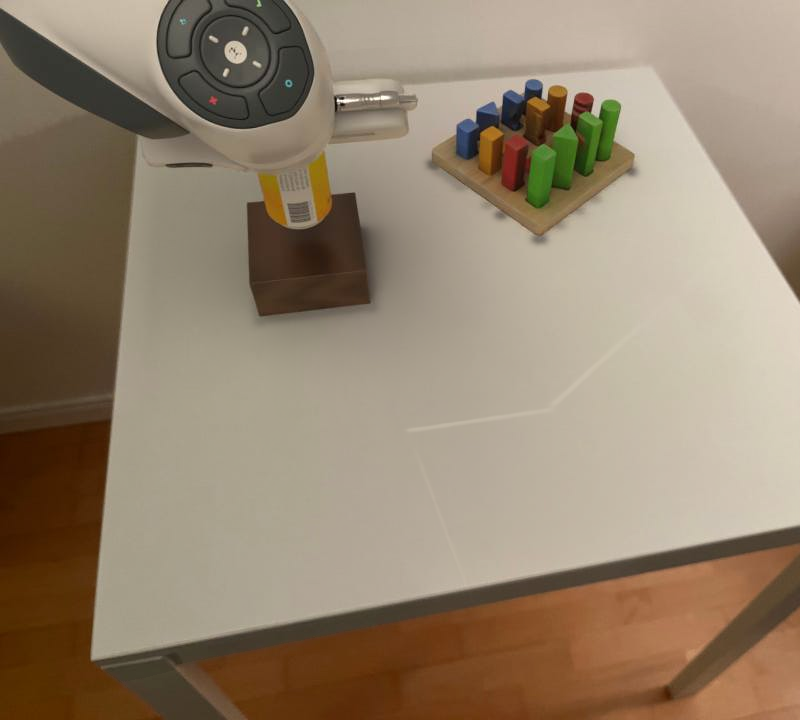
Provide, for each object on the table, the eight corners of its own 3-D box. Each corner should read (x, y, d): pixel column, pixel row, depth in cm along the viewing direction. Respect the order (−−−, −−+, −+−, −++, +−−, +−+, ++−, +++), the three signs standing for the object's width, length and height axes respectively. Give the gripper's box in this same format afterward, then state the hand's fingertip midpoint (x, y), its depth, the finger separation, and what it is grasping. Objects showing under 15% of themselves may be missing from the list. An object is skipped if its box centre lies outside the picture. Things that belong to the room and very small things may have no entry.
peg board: (527, 99, 95) (535, 38, 88) (634, 166, 89) (651, 106, 82) (429, 160, 88) (429, 98, 81) (538, 238, 81) (548, 177, 74)
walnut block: (259, 316, 73) (249, 283, 69) (256, 237, 79) (246, 202, 75) (370, 303, 75) (367, 270, 71) (359, 226, 81) (355, 192, 77)
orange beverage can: (323, 183, 72) (301, 41, 60) (340, 225, 69) (320, 84, 57) (261, 196, 71) (225, 53, 59) (275, 239, 68) (240, 99, 55)
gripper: (415, 47, 51) (400, 86, 65) (103, 69, 48) (156, 104, 61) (425, 141, 52) (409, 160, 66) (122, 168, 49) (170, 182, 63)
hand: (285, 133), depth 64 cm, fingers closed on orange beverage can, 6 cm apart
